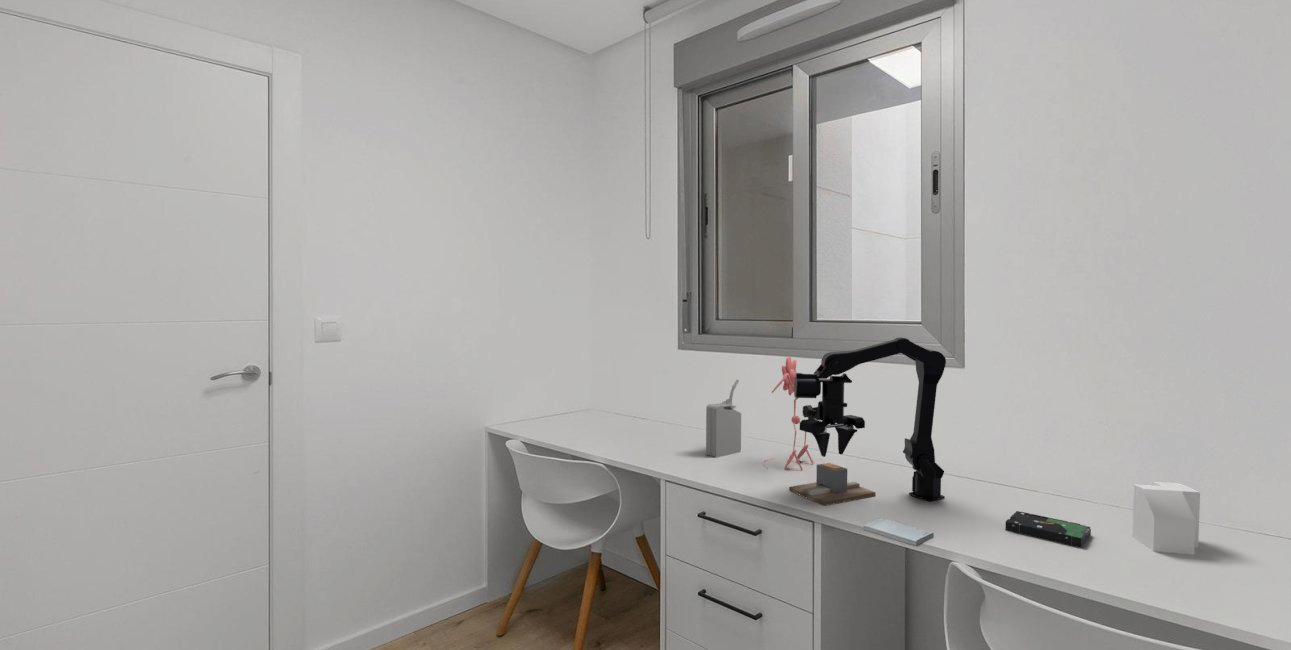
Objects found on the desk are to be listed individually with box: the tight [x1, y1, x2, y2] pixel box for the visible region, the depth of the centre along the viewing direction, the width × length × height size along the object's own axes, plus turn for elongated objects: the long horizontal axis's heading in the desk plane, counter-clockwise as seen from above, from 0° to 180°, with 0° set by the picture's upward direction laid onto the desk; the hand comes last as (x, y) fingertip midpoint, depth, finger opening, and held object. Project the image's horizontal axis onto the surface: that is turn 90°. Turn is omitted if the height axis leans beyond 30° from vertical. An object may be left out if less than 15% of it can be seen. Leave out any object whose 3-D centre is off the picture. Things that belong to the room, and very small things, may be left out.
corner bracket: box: [1131, 481, 1201, 555], centre depth 133 cm, size 11×11×12 cm
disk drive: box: [1005, 510, 1092, 549], centre depth 139 cm, size 10×3×15 cm
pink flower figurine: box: [762, 356, 823, 471], centre depth 198 cm, size 15×26×35 cm, turn 143°
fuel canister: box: [705, 379, 742, 458], centre depth 212 cm, size 15×5×25 cm, turn 130°
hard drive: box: [862, 517, 935, 547], centre depth 139 cm, size 2×8×12 cm
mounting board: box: [788, 479, 877, 506], centre depth 168 cm, size 14×18×2 cm
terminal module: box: [815, 462, 848, 494], centre depth 168 cm, size 7×4×7 cm, turn 26°
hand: (832, 455), depth 167 cm, fingers open, 6 cm apart
